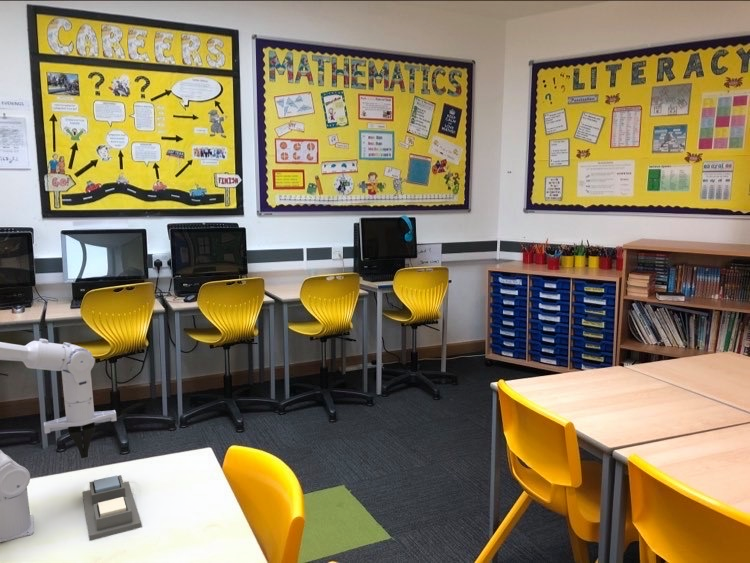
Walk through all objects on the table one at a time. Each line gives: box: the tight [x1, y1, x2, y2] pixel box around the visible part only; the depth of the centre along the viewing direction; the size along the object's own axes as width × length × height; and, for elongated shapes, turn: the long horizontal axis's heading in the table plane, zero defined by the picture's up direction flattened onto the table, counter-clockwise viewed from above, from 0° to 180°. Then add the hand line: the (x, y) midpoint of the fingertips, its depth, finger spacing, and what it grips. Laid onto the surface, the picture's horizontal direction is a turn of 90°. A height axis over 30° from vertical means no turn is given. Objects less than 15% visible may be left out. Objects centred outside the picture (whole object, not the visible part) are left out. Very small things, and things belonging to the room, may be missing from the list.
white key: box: [98, 497, 126, 517], centre depth 131 cm, size 5×5×2 cm
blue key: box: [93, 475, 120, 493], centre depth 141 cm, size 5×5×2 cm
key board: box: [82, 474, 143, 541], centre depth 136 cm, size 10×20×4 cm, turn 28°
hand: (84, 456), depth 140 cm, fingers closed
